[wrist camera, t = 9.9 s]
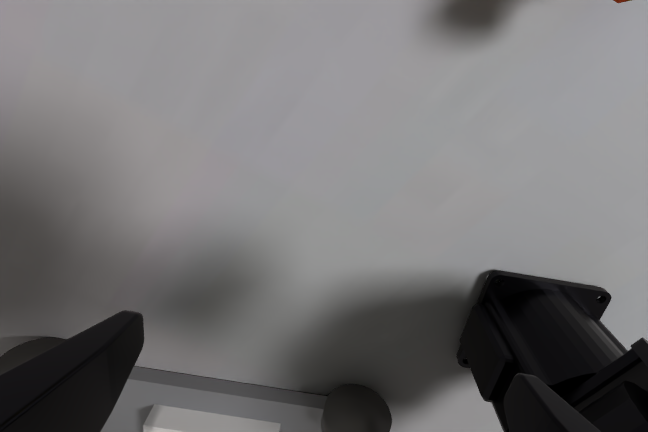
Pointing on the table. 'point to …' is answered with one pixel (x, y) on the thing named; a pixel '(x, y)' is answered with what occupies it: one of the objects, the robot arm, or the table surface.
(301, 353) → the table surface
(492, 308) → the robot arm
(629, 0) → the toy boat
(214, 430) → the chassis
